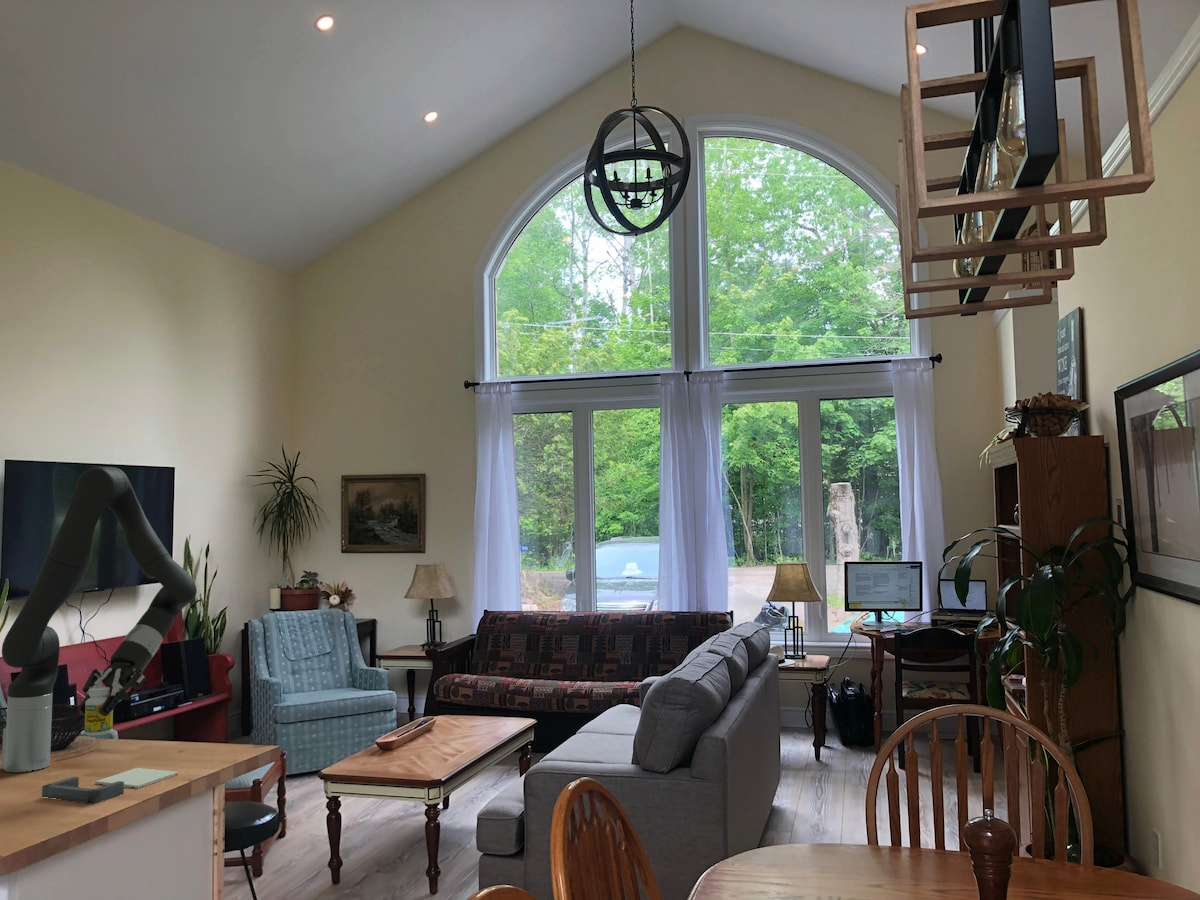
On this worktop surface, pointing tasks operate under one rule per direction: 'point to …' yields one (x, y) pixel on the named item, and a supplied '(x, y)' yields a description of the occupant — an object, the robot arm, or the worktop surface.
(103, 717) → the supplement bottle
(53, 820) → the worktop surface
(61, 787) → the bracket
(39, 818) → the worktop surface
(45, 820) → the worktop surface
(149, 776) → the cream pad
